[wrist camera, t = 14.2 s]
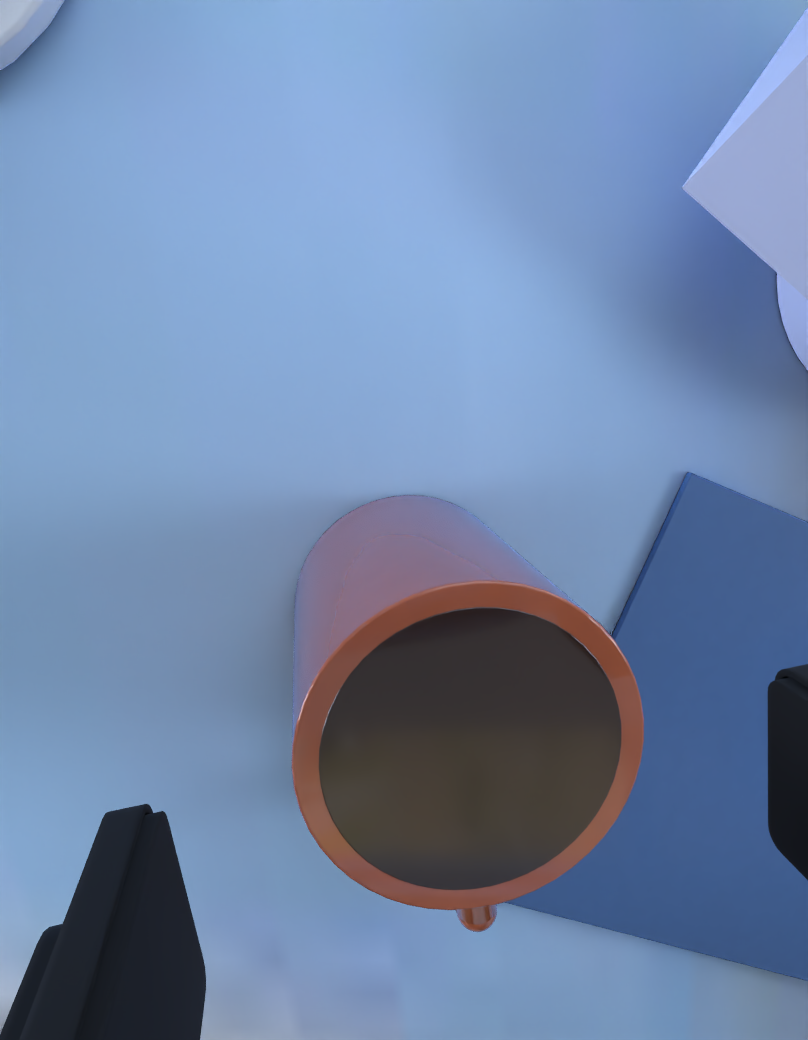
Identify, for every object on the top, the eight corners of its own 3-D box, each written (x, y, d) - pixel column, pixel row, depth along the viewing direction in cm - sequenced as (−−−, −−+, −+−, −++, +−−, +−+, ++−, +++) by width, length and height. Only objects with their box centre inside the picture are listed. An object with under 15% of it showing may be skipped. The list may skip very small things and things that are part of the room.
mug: (276, 514, 22) (260, 618, 13) (503, 477, 22) (634, 551, 14) (328, 802, 24) (345, 1057, 15) (533, 760, 25) (663, 980, 16)
